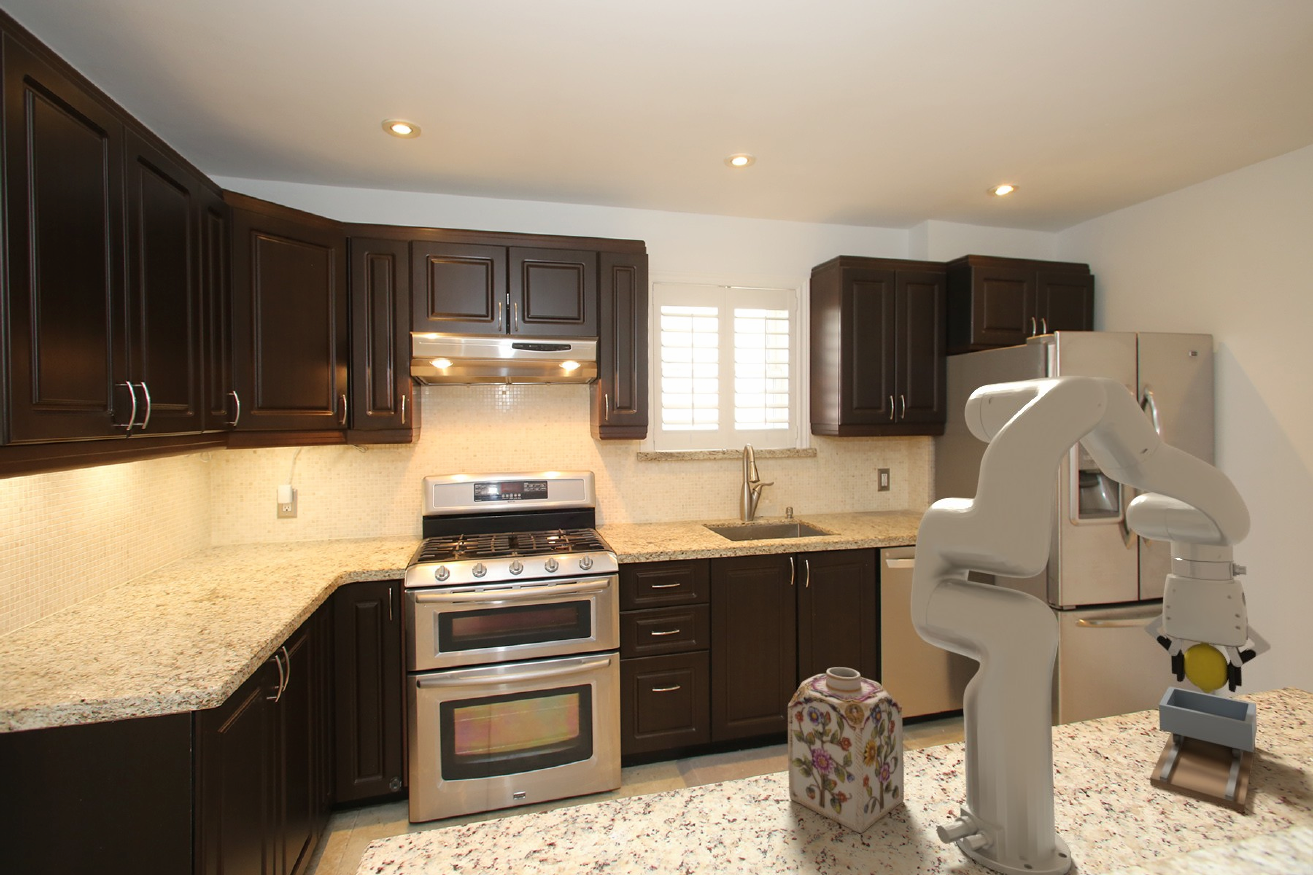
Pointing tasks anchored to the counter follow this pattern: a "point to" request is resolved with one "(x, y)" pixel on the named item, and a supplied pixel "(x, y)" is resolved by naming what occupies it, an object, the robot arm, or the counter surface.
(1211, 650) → the lemon
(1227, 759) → the track
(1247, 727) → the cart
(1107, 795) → the counter surface
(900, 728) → the decorative jar
